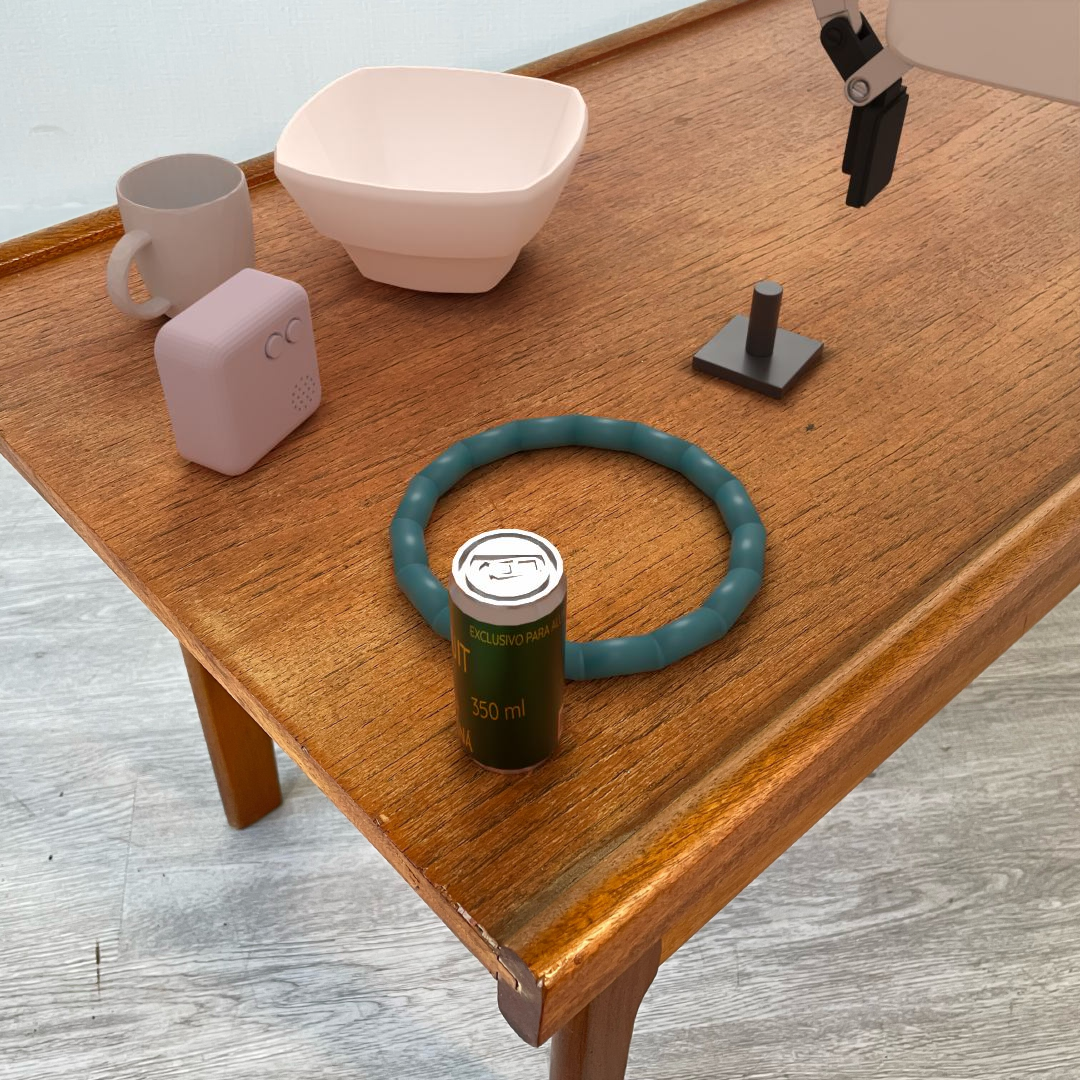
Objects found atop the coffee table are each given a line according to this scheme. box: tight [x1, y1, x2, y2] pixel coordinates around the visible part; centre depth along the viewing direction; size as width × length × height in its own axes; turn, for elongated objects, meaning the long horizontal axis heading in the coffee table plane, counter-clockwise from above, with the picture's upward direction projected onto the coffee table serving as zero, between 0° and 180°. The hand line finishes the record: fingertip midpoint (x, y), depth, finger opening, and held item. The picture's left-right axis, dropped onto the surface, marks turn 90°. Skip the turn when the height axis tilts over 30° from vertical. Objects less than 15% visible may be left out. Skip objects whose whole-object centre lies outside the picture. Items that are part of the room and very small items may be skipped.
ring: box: [388, 413, 768, 682], centre depth 72 cm, size 22×22×2 cm
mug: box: [105, 152, 256, 321], centre depth 87 cm, size 13×9×10 cm
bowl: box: [273, 65, 589, 294], centre depth 93 cm, size 22×22×12 cm
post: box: [691, 280, 825, 401], centre depth 85 cm, size 7×7×6 cm
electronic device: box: [153, 268, 322, 477], centre depth 76 cm, size 10×5×10 cm, turn 152°
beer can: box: [447, 528, 568, 775], centre depth 57 cm, size 5×5×12 cm
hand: (983, 228), depth 47 cm, fingers open, 9 cm apart
